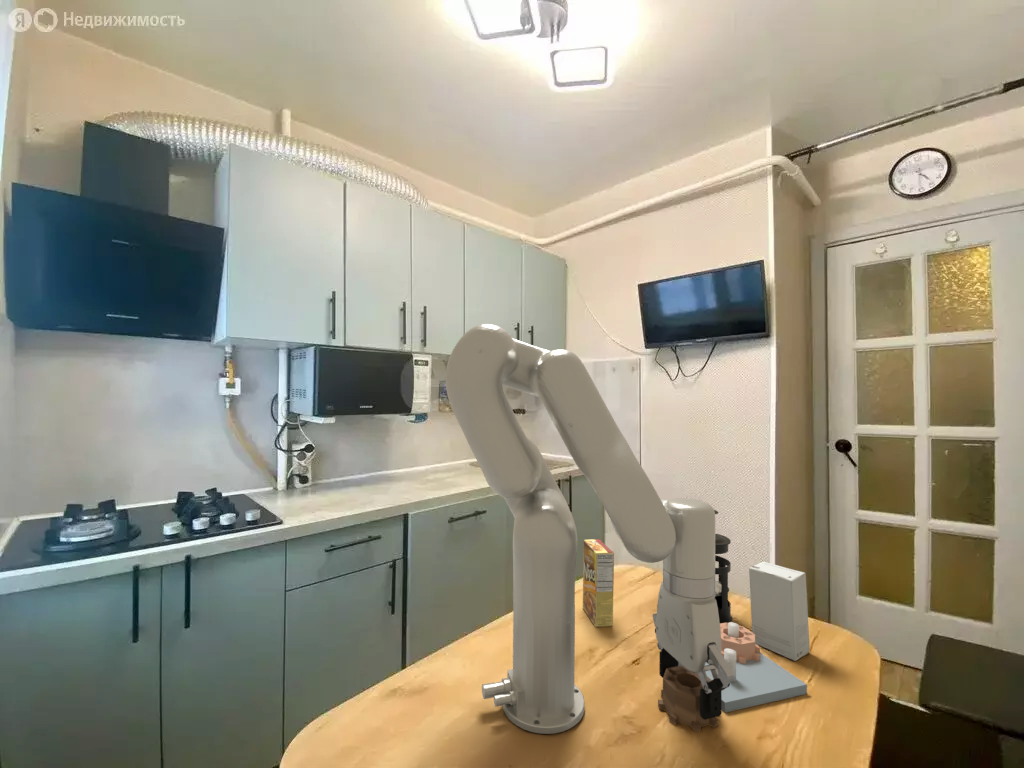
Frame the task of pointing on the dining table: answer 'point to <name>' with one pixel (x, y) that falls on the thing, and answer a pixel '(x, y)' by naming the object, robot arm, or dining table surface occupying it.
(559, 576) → the robot arm
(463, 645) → the dining table surface
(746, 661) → the gear board
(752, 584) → the skincare box
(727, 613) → the french press
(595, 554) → the candy box
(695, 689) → the walnut gear
